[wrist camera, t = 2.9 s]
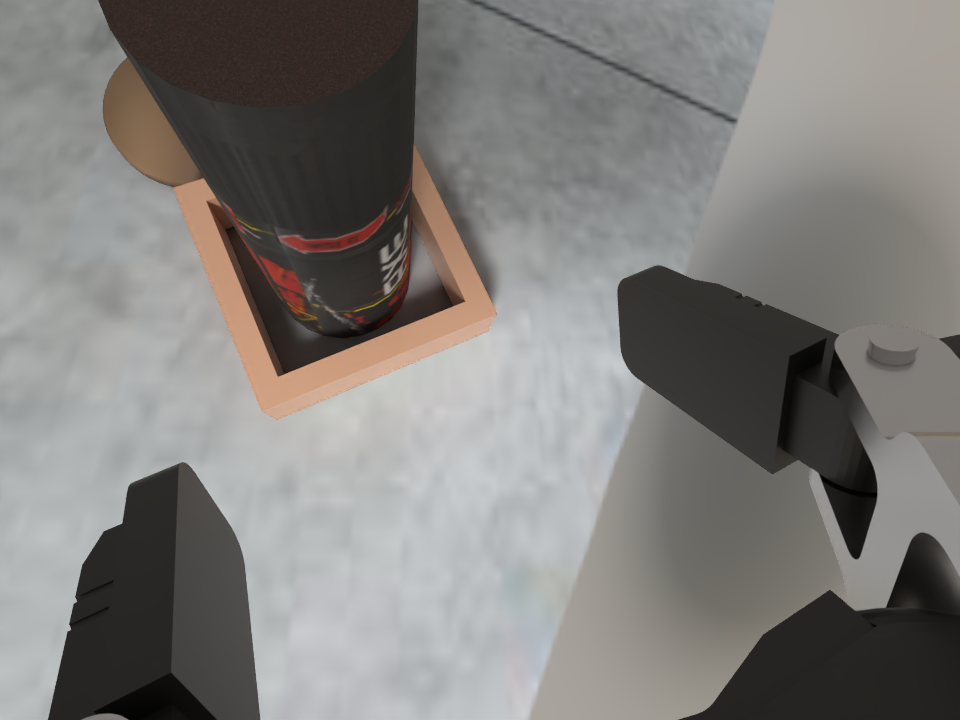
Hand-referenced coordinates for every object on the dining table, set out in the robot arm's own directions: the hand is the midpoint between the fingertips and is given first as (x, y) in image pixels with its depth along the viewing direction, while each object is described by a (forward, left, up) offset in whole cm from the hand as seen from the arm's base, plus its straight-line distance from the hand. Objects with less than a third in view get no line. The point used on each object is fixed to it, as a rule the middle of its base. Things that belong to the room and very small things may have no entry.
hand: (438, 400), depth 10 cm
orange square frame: (0, +9, -14) cm, 17 cm away
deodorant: (0, +9, -15) cm, 17 cm away
